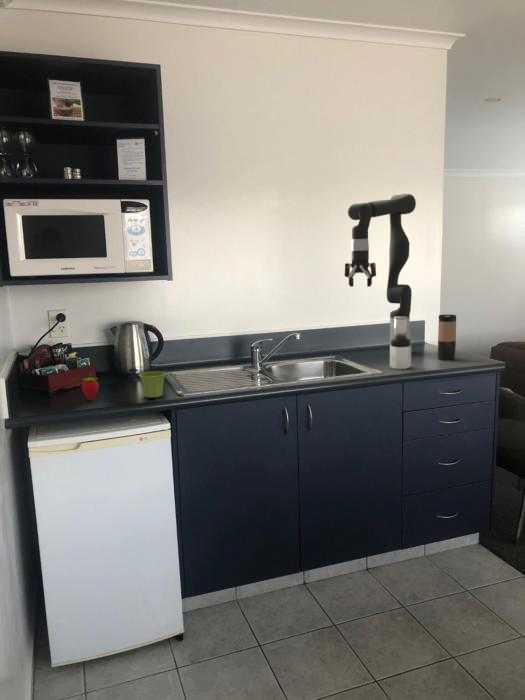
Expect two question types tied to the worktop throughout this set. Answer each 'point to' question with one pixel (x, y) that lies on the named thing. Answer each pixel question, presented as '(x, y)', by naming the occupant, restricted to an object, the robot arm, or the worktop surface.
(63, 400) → the worktop surface
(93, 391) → the strawberry
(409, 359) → the jar
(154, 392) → the plant pot
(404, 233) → the robot arm
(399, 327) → the canister
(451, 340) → the travel mug
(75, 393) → the worktop surface
